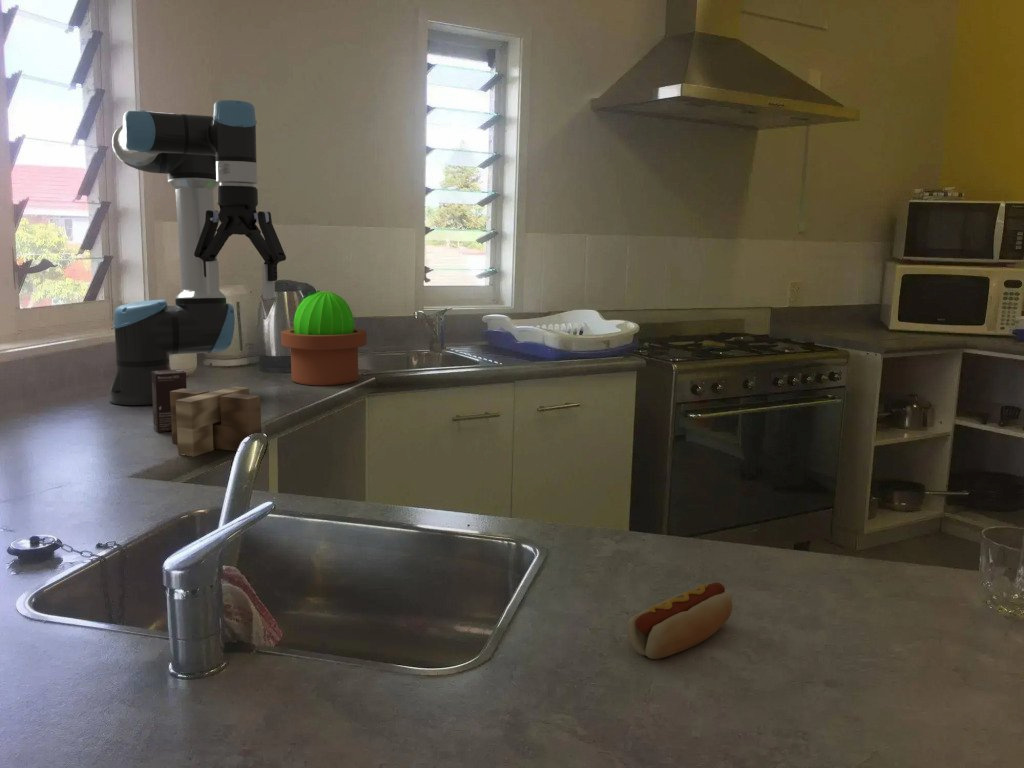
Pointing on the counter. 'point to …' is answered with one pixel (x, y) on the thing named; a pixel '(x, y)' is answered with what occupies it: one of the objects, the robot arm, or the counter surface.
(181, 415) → the arched wooden block
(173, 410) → the notched wooden block
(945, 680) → the counter surface
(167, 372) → the box
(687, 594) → the food
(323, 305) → the potted cactus
